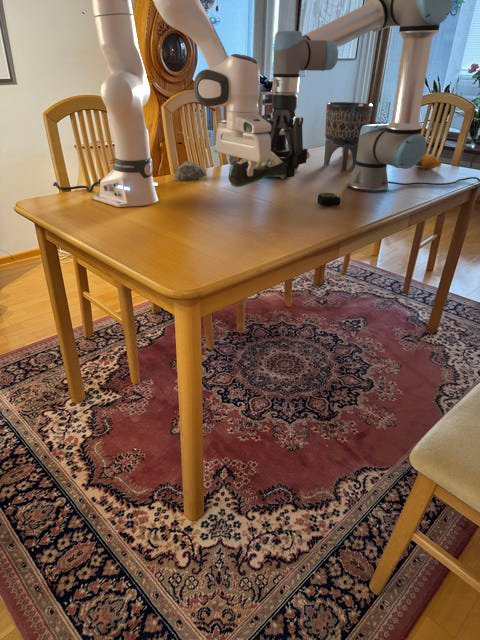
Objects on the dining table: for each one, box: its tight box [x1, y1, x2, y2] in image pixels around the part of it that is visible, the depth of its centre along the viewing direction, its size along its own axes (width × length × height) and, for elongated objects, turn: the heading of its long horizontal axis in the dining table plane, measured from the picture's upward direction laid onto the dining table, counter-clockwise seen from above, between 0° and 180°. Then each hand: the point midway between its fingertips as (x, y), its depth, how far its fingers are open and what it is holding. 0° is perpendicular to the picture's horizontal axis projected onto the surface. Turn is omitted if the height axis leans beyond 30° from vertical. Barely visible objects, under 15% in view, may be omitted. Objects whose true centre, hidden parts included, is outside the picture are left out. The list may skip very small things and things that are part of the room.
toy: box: [415, 154, 442, 170], centre depth 212 cm, size 11×6×15 cm
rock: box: [174, 160, 208, 182], centre depth 182 cm, size 13×9×6 cm, turn 131°
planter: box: [323, 101, 374, 172], centre depth 204 cm, size 20×20×26 cm
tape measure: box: [317, 192, 342, 208], centre depth 153 cm, size 7×7×4 cm
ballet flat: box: [228, 151, 287, 188], centre depth 136 cm, size 8×24×8 cm, turn 133°
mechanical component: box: [238, 129, 311, 179], centre depth 191 cm, size 22×21×30 cm
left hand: (240, 173), depth 133 cm, fingers closed on ballet flat, 6 cm apart
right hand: (280, 174), depth 143 cm, fingers closed on ballet flat, 8 cm apart
